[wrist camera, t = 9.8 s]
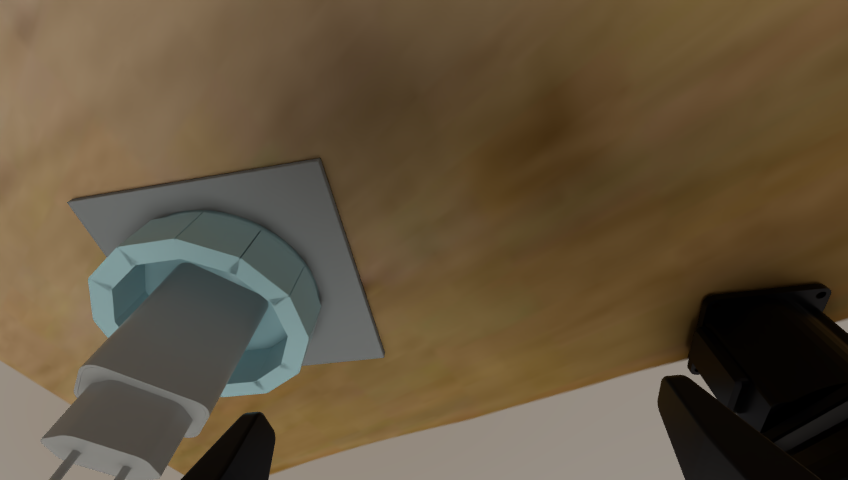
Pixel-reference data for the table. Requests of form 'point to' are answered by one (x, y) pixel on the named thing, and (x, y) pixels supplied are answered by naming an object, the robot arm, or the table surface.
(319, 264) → the mat
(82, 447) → the power adapter
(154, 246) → the bowl
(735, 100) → the table surface
